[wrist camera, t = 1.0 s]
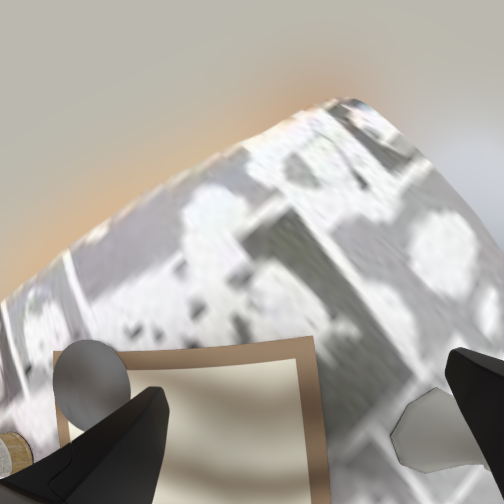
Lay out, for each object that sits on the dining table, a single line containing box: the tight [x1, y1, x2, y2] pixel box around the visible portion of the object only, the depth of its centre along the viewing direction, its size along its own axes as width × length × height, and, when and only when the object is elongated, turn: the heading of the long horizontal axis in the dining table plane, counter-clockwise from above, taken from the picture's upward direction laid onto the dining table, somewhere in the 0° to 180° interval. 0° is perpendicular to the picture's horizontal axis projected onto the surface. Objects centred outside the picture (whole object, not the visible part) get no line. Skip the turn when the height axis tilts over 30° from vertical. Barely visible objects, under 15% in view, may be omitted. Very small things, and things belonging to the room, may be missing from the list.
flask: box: [391, 387, 491, 473], centre depth 14 cm, size 7×7×10 cm
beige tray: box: [53, 336, 331, 504], centre depth 19 cm, size 21×22×1 cm
